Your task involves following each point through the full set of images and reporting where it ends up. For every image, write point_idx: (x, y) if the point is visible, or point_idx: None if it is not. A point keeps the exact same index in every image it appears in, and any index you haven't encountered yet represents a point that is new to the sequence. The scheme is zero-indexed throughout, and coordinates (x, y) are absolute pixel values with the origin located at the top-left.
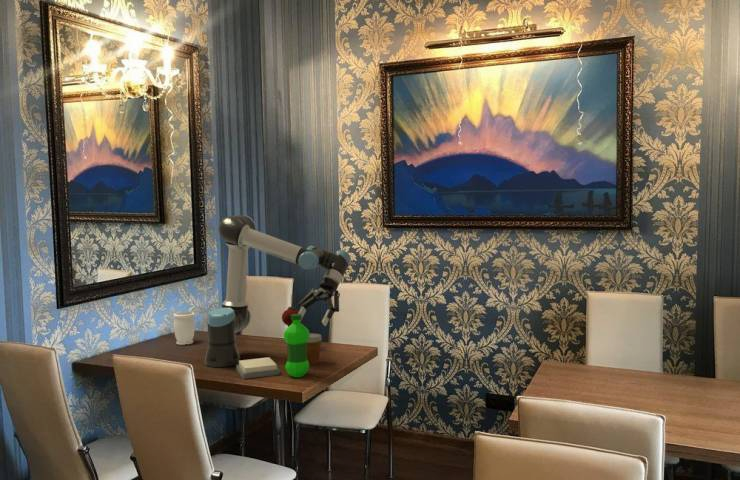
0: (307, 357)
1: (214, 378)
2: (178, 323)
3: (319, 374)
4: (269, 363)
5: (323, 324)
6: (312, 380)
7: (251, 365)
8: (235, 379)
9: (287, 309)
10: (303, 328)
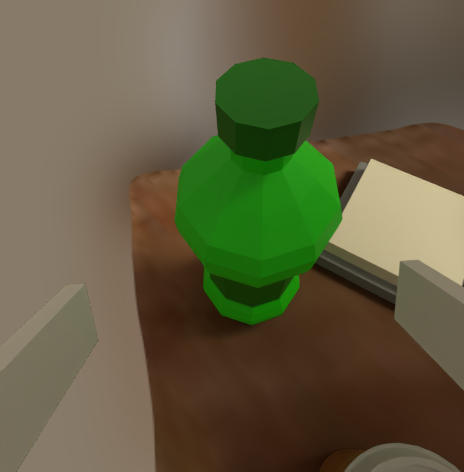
0: (350, 450)
1: (421, 137)
2: None
3: (187, 343)
4: (363, 238)
5: (89, 317)
6: (165, 271)
7: (387, 188)
8: (369, 159)
9: None
10: (196, 178)
